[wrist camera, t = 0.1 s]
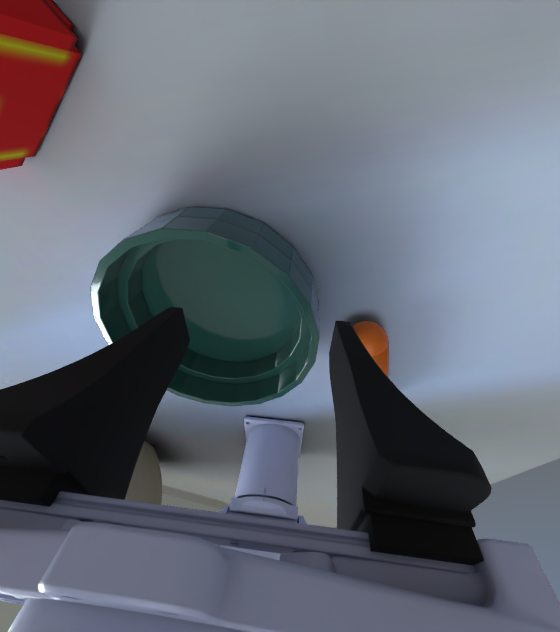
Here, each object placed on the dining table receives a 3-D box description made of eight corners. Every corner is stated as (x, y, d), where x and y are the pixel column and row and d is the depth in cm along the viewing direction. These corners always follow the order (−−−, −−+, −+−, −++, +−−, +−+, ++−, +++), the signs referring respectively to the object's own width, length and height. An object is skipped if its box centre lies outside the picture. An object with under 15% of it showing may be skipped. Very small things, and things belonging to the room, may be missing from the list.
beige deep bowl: (142, 475, 52) (103, 557, 43) (55, 430, 44) (-17, 519, 35) (206, 460, 45) (177, 553, 35) (117, 402, 37) (47, 504, 27)
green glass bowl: (308, 373, 29) (307, 414, 25) (157, 359, 30) (133, 396, 26) (330, 212, 19) (334, 239, 15) (98, 199, 20) (44, 220, 16)
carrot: (384, 392, 30) (391, 421, 27) (351, 393, 30) (355, 422, 28) (383, 310, 23) (393, 337, 20) (341, 315, 24) (345, 342, 21)
